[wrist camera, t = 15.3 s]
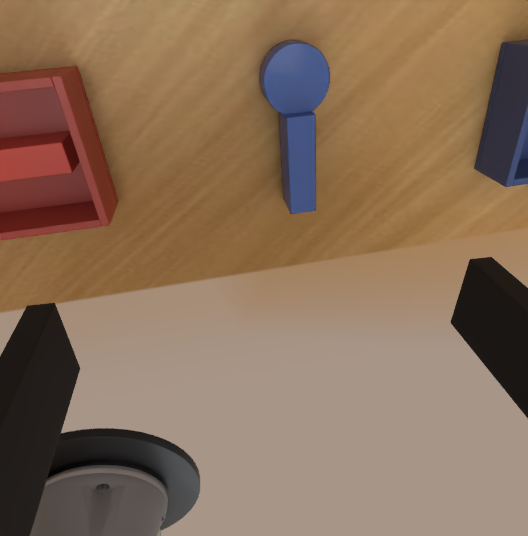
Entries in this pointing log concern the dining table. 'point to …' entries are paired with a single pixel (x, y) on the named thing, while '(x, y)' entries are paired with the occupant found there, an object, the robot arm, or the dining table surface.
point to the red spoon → (37, 156)
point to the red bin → (63, 185)
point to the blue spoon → (296, 115)
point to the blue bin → (507, 119)
